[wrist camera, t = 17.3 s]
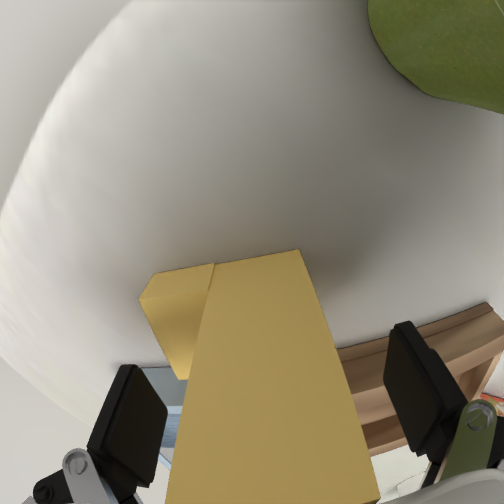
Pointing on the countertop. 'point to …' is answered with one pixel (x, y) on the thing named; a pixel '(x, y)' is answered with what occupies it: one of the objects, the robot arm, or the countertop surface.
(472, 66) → the plant pot
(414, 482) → the cylindrical container
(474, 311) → the slot board
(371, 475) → the l-shaped block
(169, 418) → the chip
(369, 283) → the countertop surface
